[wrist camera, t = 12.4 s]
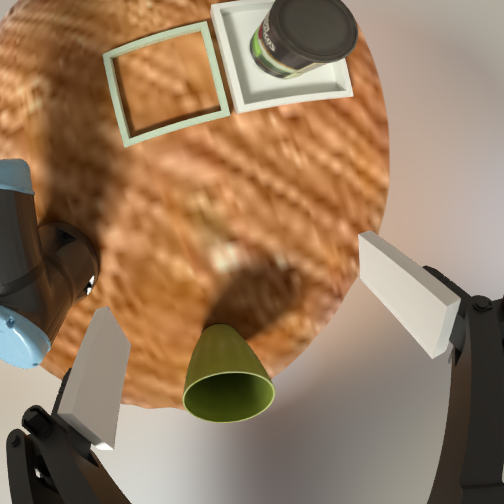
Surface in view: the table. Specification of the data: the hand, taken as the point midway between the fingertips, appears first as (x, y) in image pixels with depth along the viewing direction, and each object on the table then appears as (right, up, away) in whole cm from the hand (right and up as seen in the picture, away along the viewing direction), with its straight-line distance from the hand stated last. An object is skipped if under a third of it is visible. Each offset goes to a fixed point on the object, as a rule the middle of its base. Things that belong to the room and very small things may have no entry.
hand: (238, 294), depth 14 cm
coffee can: (+5, +33, +21) cm, 39 cm away
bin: (+5, +33, +21) cm, 39 cm away
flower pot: (-6, -15, +41) cm, 44 cm away
